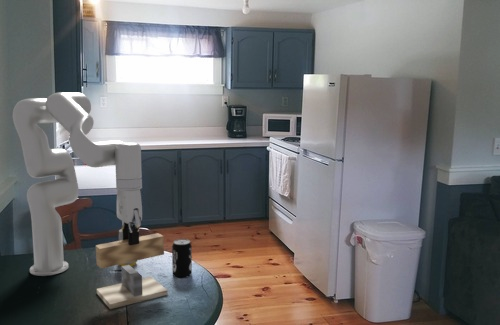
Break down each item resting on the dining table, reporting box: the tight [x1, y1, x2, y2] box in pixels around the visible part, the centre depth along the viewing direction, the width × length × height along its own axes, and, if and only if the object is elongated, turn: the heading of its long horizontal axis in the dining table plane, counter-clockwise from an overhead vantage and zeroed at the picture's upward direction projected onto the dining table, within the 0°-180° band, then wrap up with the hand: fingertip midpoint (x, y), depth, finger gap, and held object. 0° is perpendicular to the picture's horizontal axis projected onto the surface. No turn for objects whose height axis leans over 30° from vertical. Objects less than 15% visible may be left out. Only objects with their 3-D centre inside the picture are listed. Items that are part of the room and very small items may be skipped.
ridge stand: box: [96, 265, 168, 310], centre depth 143 cm, size 13×18×8 cm
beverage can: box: [171, 238, 193, 279], centre depth 159 cm, size 7×7×12 cm
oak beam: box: [95, 232, 165, 269], centre depth 142 cm, size 20×4×6 cm, turn 125°
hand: (131, 241), depth 141 cm, fingers closed on oak beam, 4 cm apart
